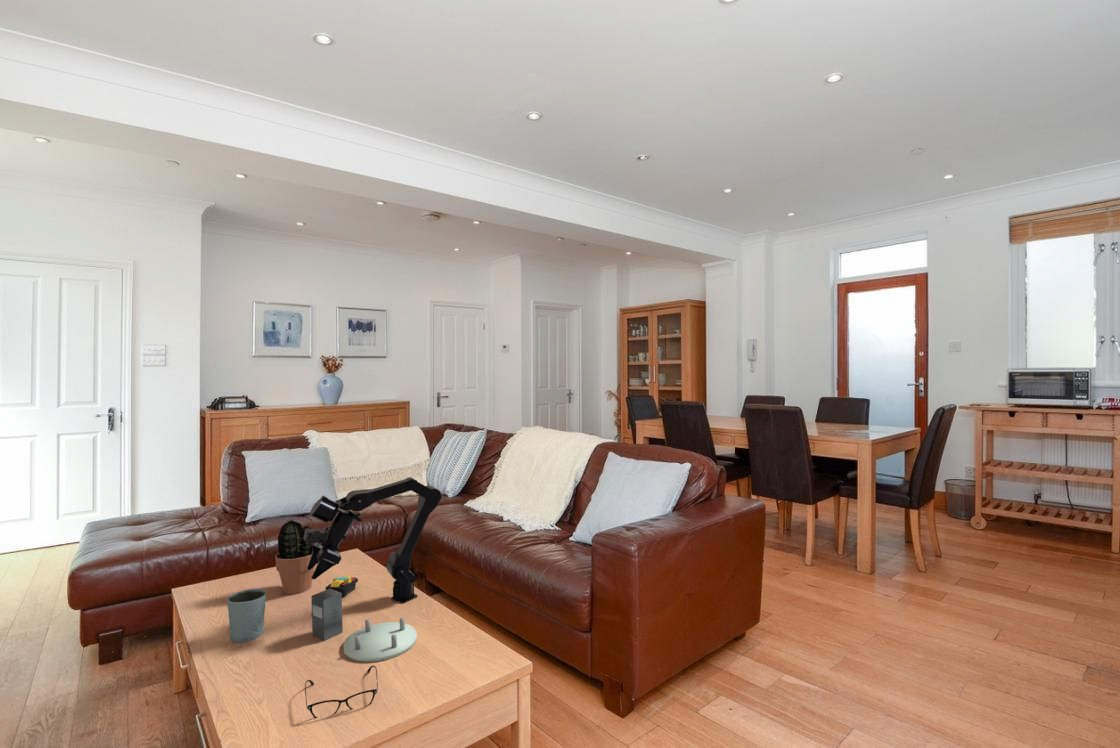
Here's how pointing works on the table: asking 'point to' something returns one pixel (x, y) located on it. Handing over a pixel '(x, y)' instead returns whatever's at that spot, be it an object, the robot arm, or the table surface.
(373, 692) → the eyeglasses
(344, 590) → the gadget
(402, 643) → the pin plate
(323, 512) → the robot arm
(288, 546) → the potted plant
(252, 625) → the embossed blue-grey cup
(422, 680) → the table surface
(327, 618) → the block
